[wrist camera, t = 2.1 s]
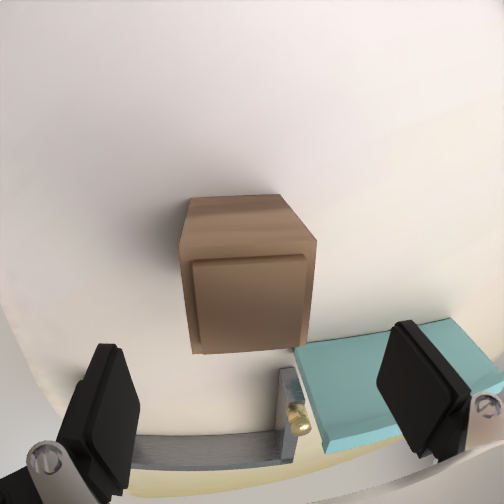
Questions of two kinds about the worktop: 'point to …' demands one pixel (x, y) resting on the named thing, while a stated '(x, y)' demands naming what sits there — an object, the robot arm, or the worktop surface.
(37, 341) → the worktop surface
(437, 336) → the flat teal rectangular block
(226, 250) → the block
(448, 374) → the robot arm
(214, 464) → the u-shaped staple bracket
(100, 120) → the worktop surface
